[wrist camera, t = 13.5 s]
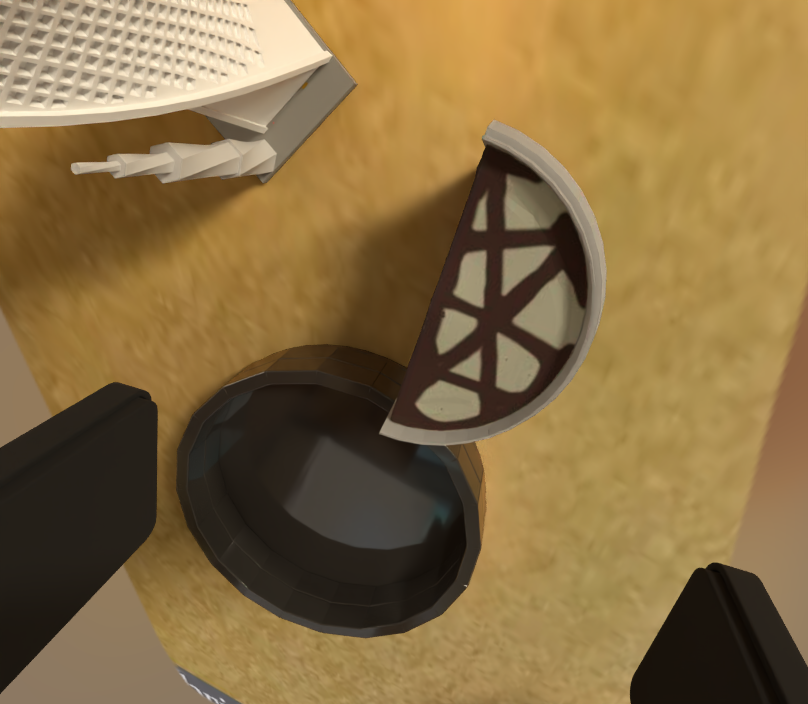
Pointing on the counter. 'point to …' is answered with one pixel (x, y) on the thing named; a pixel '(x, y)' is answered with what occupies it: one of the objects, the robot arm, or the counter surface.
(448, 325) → the food container
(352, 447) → the bowl
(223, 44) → the skyscraper
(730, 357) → the counter surface
